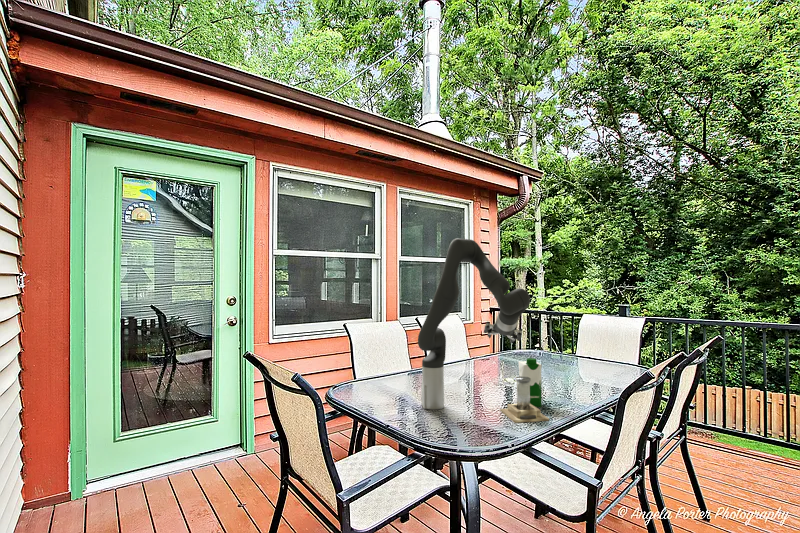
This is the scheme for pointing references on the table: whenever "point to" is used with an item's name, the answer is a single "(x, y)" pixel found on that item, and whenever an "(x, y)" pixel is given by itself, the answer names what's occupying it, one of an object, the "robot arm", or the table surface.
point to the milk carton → (532, 379)
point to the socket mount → (524, 414)
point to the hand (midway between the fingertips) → (500, 338)
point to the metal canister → (523, 393)
